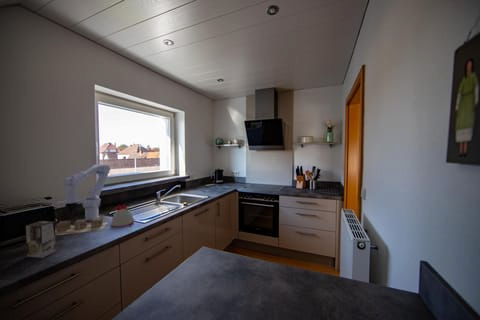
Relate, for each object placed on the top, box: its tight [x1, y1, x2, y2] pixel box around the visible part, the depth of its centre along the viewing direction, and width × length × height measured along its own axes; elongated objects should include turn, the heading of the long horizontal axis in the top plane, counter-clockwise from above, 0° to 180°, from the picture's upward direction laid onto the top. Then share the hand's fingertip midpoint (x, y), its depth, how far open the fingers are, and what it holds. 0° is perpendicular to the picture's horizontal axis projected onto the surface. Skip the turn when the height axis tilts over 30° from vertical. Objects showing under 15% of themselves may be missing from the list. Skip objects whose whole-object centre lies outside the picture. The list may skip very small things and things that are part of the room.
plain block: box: [55, 220, 71, 232], centre depth 118 cm, size 5×5×5 cm
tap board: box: [55, 221, 110, 236], centre depth 121 cm, size 16×28×1 cm, turn 113°
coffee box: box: [25, 220, 57, 259], centre depth 92 cm, size 9×6×16 cm
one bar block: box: [73, 218, 88, 230], centre depth 121 cm, size 5×5×5 cm
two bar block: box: [90, 217, 104, 228], centre depth 125 cm, size 5×5×5 cm
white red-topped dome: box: [110, 204, 135, 228], centre depth 131 cm, size 14×14×15 cm
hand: (71, 214), depth 124 cm, fingers closed
